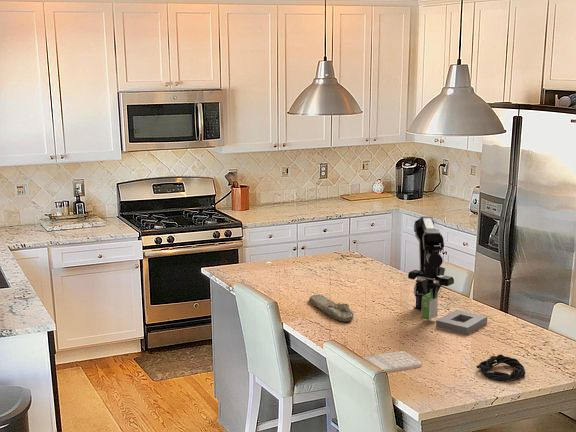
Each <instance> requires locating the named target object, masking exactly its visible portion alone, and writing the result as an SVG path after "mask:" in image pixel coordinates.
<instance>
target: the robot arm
mask: <svg viewBox="0 0 576 432" xmlns="http://www.w3.org/2000/svg"><path fill="white" fill-rule="evenodd" d="M433 219H434V218H433V217H432V216H431V215H429V216H428V215H427V216H420V217H419V219H416V220H415V221H414V224H413V232H415V233H414V235H415V238H416V239H417V241H418V245H419V246H418V249H419V250H418V251H419V252H418V253H419V270H417V269H413V270H411V271H409V272H408V274H407V278H408V279H410V280H415V284H414V287H413V295H414V297H415V306H414V307H413V309H414V310H416V311H417V310H418V311H421V309H422V296H423V295H426V294H428V293H430V289H432V288H433V291H432V293H433V299H435V298H436V296H437V293H438V294H439V291H440V288H441V287H442V286H443V287H450V286H451V285H453V284H454V283H455V278H454V277H453V276H449V275H445V272H446V268H445V267H442V264H443V257H442V256H441V254H440V251H444V247H445V242H444V237H443V235H442V234H441V231H440V230H439V229H436V228H435V221H434V220H433Z"/></svg>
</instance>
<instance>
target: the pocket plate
mask: <svg viewBox="0 0 576 432" xmlns="http://www.w3.org/2000/svg"><path fill="white" fill-rule="evenodd" d="M487 324H488V315H487V316H486V315H482V314H478V313H472V312H468V311H466V310H465V311H464V310H460V309H456V310H454V311H451V312H450V313H448V314H445V315H444V316H442V317H440V318H438V319H436V320H435V328H438V329H442V330H446V331H450V332H454V333H457V334H461V335H466V336H468V335H470V334H472V333H473V332H475V331H476V330H478V329H480V328H482V327H484V326H485V325H487Z"/></svg>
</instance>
